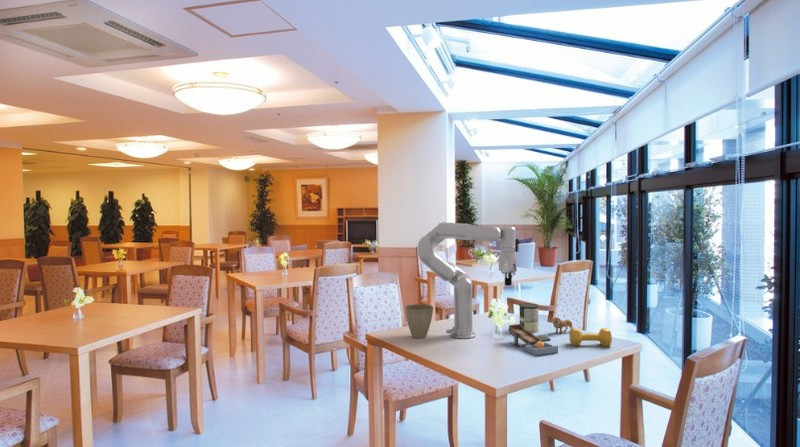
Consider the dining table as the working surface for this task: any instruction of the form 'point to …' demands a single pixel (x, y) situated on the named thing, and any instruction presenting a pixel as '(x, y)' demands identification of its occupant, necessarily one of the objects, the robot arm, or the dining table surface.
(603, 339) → the dumbbell
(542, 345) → the ball
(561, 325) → the lion figurine
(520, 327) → the brown tilting tray
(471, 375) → the dining table surface
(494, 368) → the dining table surface
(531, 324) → the coffee can
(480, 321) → the dining table surface
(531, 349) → the tray
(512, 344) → the lever stand
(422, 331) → the plant pot
